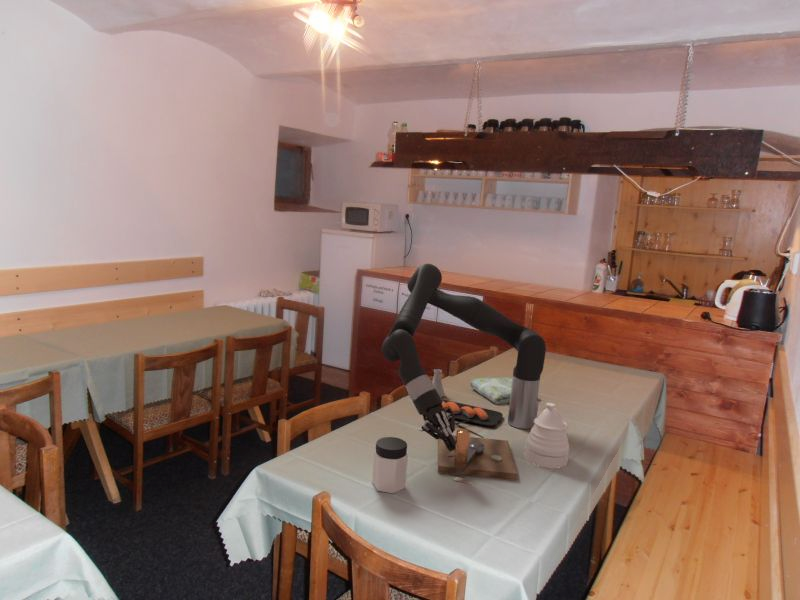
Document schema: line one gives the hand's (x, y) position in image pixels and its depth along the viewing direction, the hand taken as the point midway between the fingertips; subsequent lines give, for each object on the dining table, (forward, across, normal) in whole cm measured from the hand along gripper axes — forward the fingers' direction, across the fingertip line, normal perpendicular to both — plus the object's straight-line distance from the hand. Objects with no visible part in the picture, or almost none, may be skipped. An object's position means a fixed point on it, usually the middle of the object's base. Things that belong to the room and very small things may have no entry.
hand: (453, 449), depth 159 cm
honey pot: (+14, -32, +3) cm, 35 cm away
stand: (+5, -13, -6) cm, 15 cm away
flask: (-25, -49, -37) cm, 66 cm away
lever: (+4, -8, -4) cm, 10 cm away
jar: (0, +17, -12) cm, 20 cm away
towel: (-14, -72, -26) cm, 77 cm away
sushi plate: (-11, -33, -23) cm, 42 cm away
